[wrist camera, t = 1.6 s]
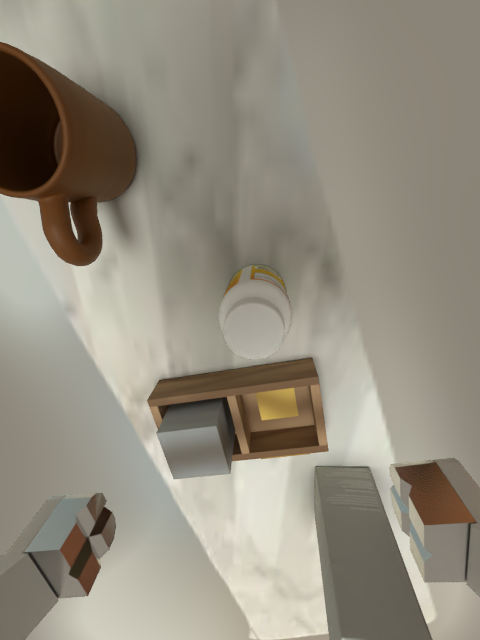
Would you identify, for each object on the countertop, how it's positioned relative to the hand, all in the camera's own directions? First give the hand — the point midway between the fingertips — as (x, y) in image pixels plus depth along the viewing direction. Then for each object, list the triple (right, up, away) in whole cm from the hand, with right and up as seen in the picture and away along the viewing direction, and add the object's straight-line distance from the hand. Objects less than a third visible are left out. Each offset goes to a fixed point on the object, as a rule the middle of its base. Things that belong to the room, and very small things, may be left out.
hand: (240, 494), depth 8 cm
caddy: (0, -4, +24) cm, 25 cm away
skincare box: (+12, -16, +28) cm, 34 cm away
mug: (-12, +17, +17) cm, 27 cm away
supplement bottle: (+2, +8, +20) cm, 21 cm away
